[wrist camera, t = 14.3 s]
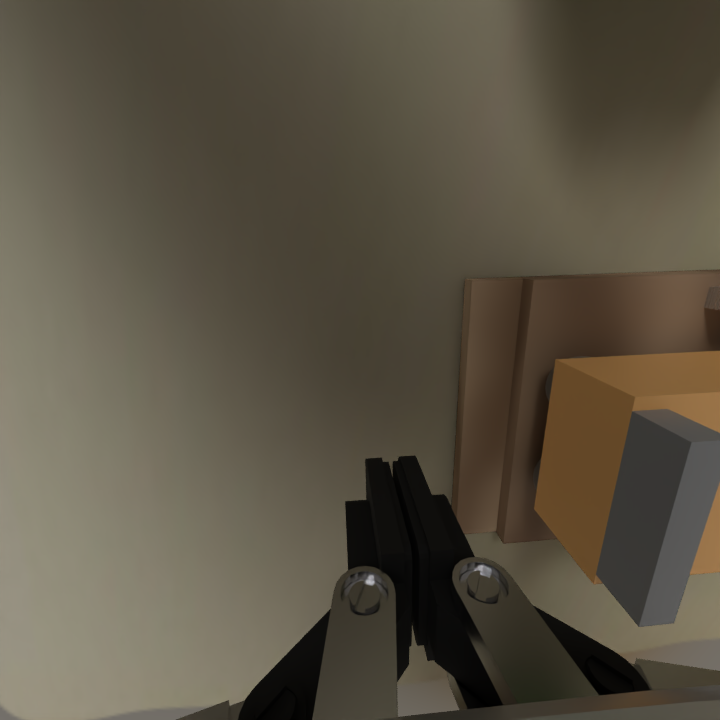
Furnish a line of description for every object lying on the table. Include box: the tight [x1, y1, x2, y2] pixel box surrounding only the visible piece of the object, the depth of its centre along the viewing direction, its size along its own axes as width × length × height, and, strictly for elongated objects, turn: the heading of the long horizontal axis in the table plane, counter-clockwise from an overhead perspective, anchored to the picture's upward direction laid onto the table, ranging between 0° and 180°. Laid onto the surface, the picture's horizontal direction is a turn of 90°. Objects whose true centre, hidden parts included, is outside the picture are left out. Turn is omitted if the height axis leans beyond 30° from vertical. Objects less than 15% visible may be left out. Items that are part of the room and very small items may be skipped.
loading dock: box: [452, 270, 720, 544], centre depth 14 cm, size 18×12×4 cm, turn 92°
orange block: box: [533, 351, 720, 627], centre depth 12 cm, size 10×6×6 cm, turn 92°
